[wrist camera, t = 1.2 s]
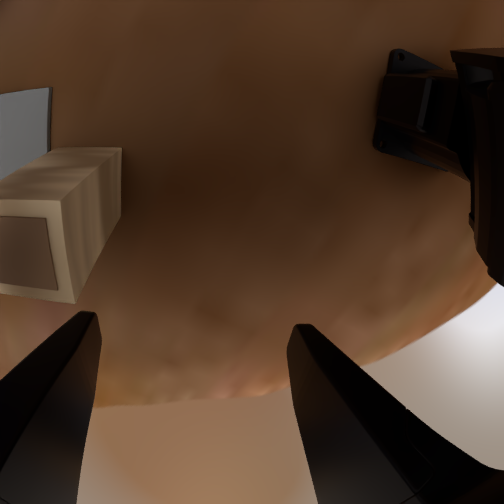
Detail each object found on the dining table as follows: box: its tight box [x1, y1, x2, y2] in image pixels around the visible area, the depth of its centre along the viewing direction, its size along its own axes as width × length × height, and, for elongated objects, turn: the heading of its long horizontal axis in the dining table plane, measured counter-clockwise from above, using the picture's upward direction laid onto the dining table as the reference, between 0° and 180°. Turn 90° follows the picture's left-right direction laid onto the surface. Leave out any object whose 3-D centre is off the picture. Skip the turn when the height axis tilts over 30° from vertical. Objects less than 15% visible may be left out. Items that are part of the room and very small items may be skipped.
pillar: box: [0, 147, 122, 304], centre depth 12 cm, size 4×4×8 cm
